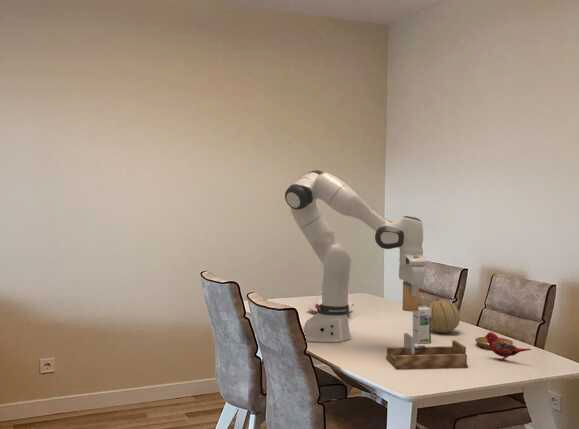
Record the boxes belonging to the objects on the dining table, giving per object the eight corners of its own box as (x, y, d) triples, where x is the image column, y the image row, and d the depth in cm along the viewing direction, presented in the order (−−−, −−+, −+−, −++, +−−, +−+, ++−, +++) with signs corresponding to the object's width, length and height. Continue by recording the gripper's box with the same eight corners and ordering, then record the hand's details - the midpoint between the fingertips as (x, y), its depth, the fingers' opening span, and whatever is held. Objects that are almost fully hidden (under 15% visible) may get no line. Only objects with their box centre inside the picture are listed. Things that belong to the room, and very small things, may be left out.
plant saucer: (489, 353, 247) (489, 346, 247) (467, 343, 261) (467, 337, 261) (520, 350, 252) (521, 344, 251) (498, 341, 266) (498, 335, 266)
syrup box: (418, 343, 260) (419, 308, 259) (412, 340, 265) (412, 306, 265) (431, 343, 261) (431, 308, 261) (424, 339, 267) (425, 305, 266)
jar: (405, 311, 240) (405, 283, 239) (399, 308, 246) (400, 281, 246) (420, 311, 241) (421, 283, 240) (415, 308, 247) (415, 280, 247)
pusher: (411, 363, 225) (411, 338, 225) (403, 357, 234) (404, 333, 234) (428, 363, 226) (429, 338, 225) (420, 356, 235) (420, 332, 235)
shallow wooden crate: (396, 369, 222) (397, 349, 222) (386, 358, 236) (386, 340, 236) (467, 367, 225) (468, 348, 225) (453, 357, 239) (453, 339, 239)
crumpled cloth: (342, 303, 341) (340, 287, 340) (370, 315, 308) (367, 297, 307) (301, 312, 334) (299, 296, 333) (326, 326, 301) (323, 307, 300)
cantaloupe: (458, 337, 271) (459, 303, 271) (423, 334, 276) (424, 300, 276) (460, 330, 285) (461, 297, 285) (427, 327, 290) (428, 295, 290)
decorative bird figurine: (485, 356, 241) (486, 330, 240) (532, 365, 229) (533, 338, 229) (482, 358, 239) (482, 331, 238) (529, 366, 227) (530, 339, 227)
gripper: (395, 255, 253) (394, 290, 253) (411, 261, 232) (410, 298, 233) (410, 255, 253) (409, 289, 254) (427, 261, 233) (427, 298, 234)
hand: (410, 294), depth 243 cm, fingers closed on jar, 6 cm apart
